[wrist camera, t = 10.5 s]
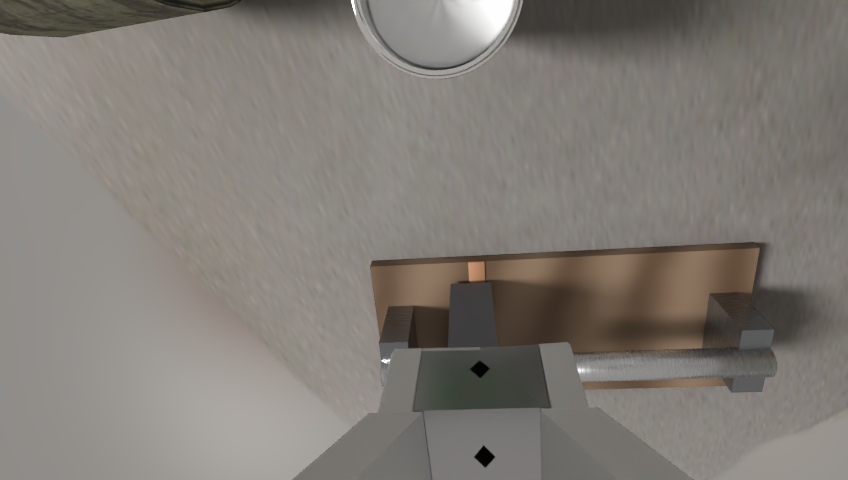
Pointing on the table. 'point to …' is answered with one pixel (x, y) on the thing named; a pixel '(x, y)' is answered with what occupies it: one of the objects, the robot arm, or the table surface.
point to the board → (578, 297)
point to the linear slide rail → (718, 358)
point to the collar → (471, 316)
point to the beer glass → (436, 33)
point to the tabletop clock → (92, 14)
